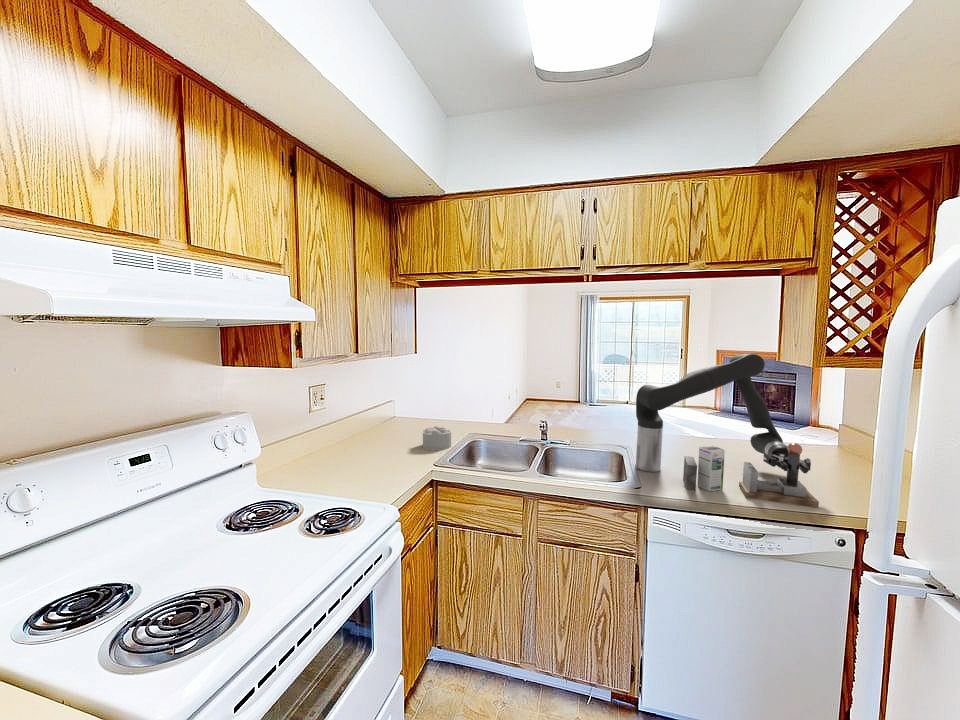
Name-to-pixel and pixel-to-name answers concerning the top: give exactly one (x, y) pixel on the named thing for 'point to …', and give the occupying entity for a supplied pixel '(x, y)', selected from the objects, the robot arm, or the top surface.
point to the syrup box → (711, 468)
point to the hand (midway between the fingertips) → (796, 469)
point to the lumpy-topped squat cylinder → (436, 438)
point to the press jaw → (783, 485)
